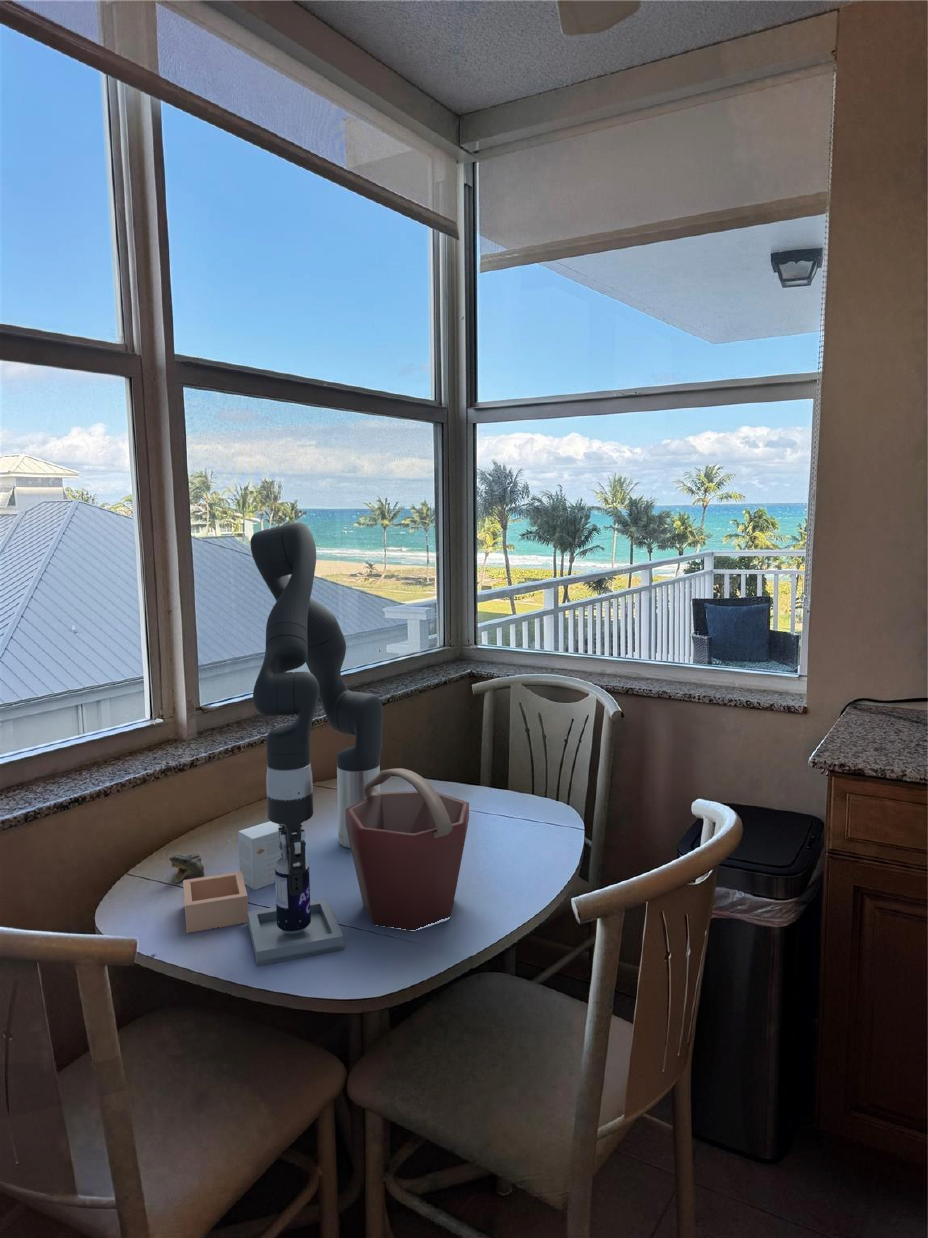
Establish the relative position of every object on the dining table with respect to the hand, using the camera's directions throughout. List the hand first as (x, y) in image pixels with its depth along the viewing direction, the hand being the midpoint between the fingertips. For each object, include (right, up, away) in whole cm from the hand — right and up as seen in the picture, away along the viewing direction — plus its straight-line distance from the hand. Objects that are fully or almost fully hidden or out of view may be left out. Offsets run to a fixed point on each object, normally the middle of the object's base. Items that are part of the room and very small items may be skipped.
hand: (292, 885), depth 139 cm
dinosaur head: (-27, -7, +23) cm, 36 cm away
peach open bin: (-16, -8, +9) cm, 20 cm away
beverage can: (0, -8, +1) cm, 8 cm away
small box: (-10, -7, +23) cm, 26 cm away
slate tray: (0, -9, +1) cm, 9 cm away
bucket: (+20, -8, +12) cm, 24 cm away
